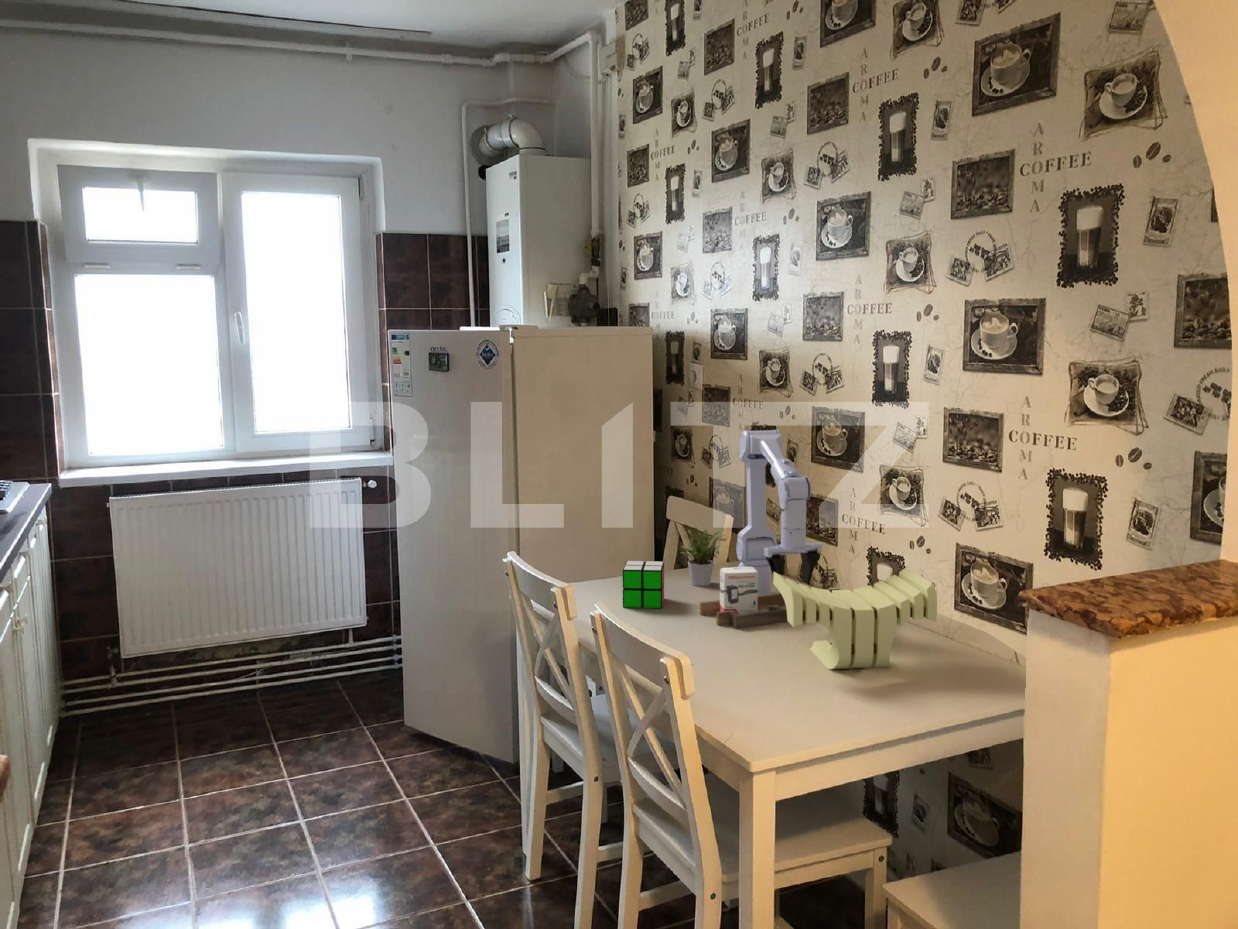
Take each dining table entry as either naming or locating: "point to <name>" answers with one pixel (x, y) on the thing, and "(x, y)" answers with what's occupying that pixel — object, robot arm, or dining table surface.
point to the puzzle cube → (643, 584)
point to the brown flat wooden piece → (752, 619)
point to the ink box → (739, 590)
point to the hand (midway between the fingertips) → (792, 584)
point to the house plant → (701, 558)
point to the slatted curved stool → (859, 616)
